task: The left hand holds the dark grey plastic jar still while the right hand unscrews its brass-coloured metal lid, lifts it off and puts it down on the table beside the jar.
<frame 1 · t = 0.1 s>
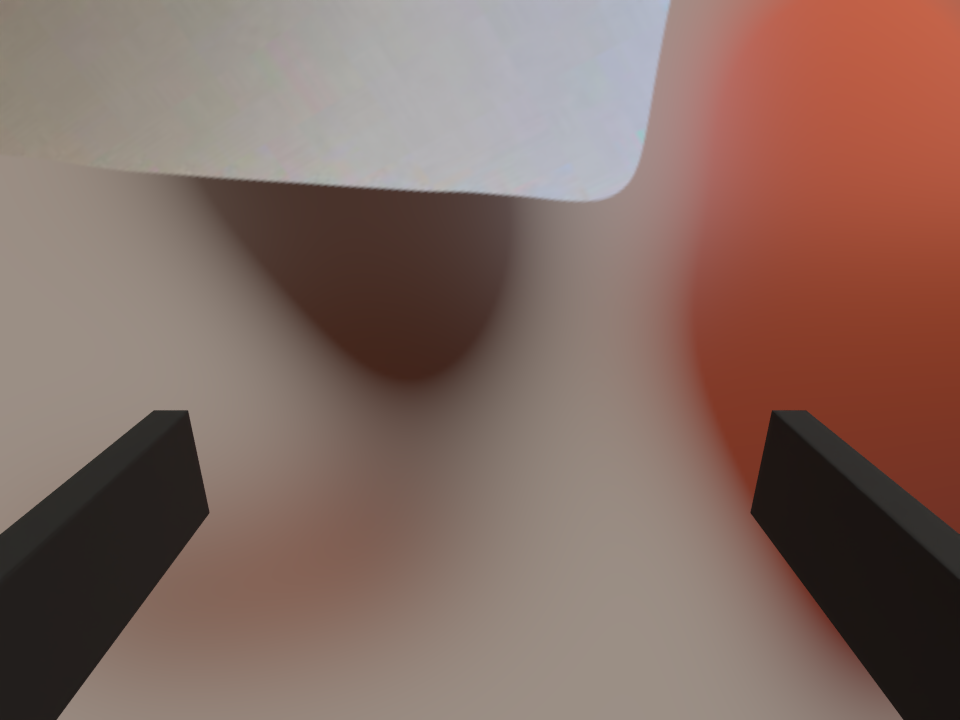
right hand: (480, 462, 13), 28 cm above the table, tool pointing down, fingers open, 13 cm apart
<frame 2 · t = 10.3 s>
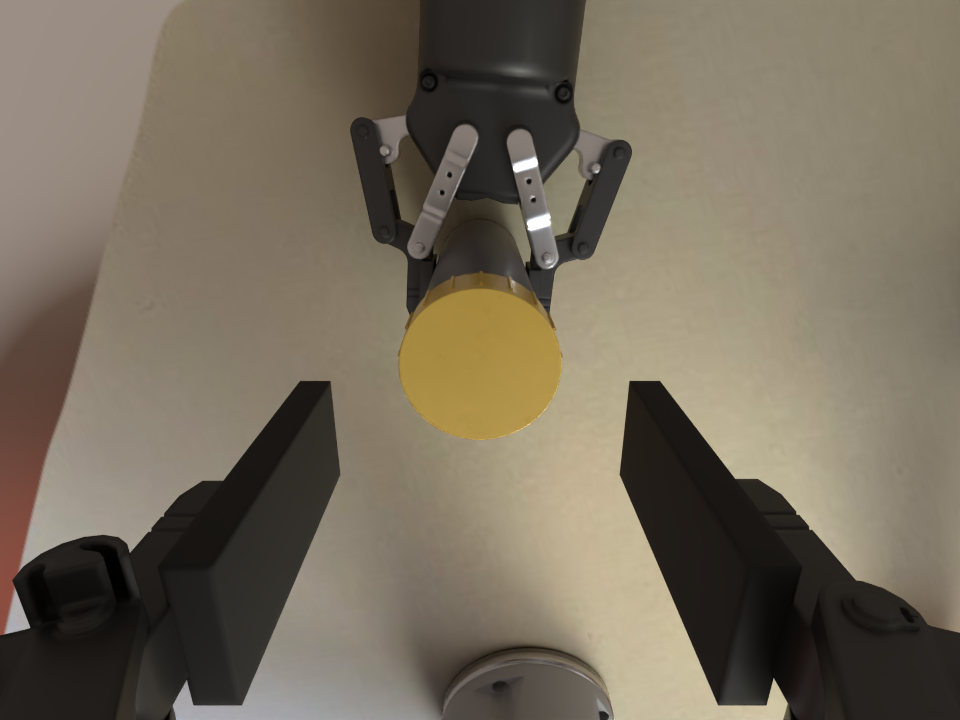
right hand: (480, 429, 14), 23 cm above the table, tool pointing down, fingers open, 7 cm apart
left hand: (477, 325, 31), fingers closed on jar, 5 cm apart
lid: (480, 364, 18), point 19 cm above the table, screwed on, not yet turned
jar: (480, 258, 36), on the table, touching left hand
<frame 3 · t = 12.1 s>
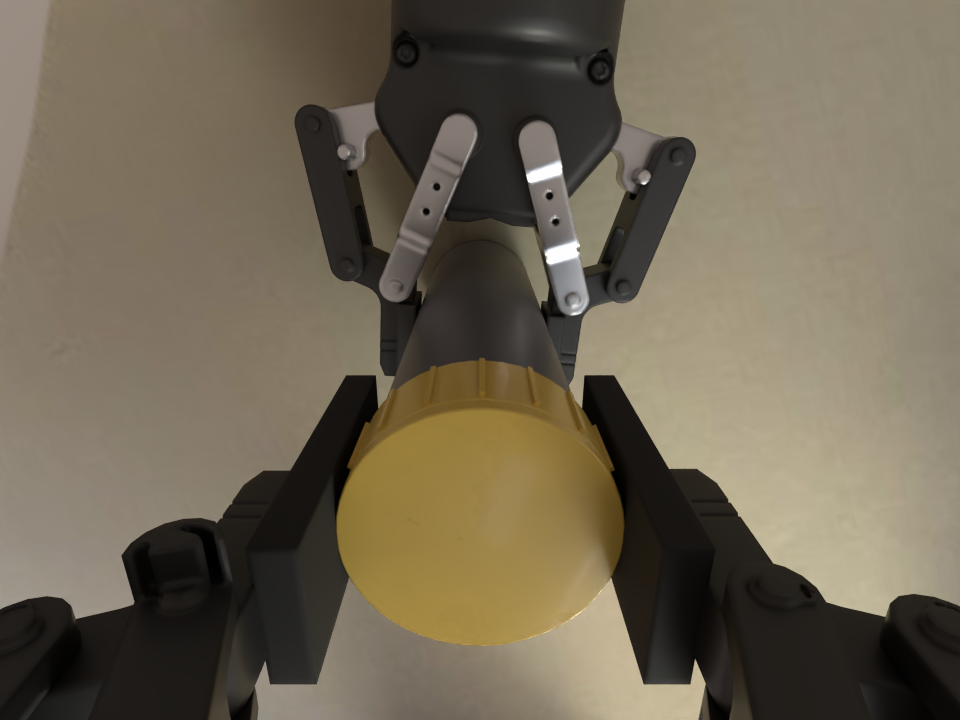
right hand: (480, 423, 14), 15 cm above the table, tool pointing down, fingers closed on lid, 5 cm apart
left hand: (475, 387, 23), fingers closed on jar, 5 cm apart
lid: (480, 526, 11), point 19 cm above the table, screwed on, not yet turned, touching right hand
jar: (480, 289, 28), on the table, touching left hand
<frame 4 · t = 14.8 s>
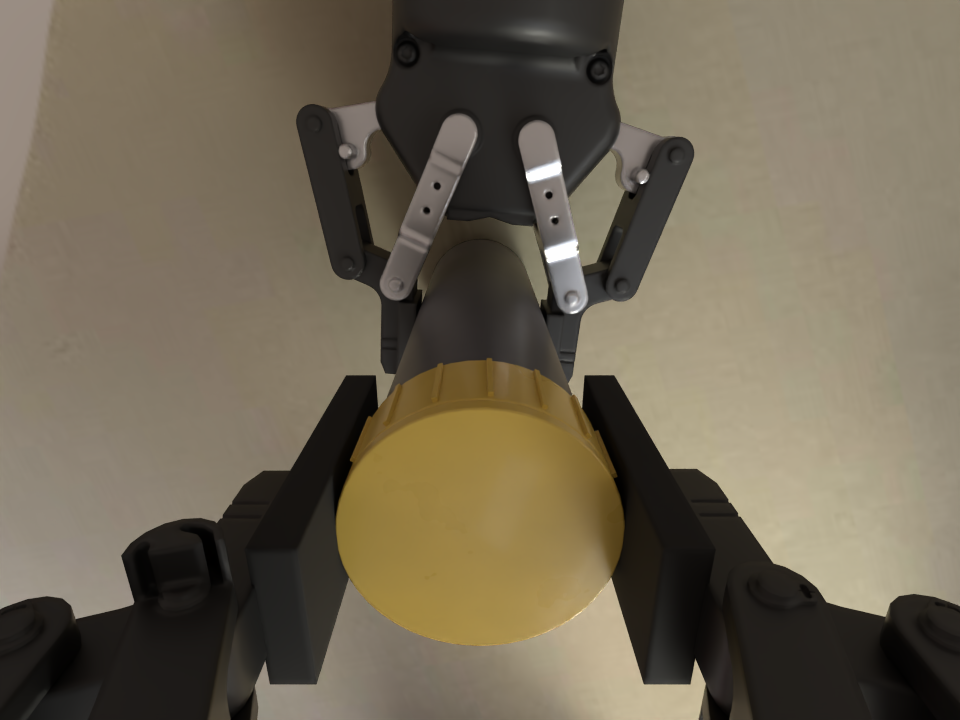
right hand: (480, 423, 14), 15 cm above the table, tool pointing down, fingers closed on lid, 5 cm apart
left hand: (475, 384, 23), fingers closed on jar, 5 cm apart
lid: (479, 526, 11), point 19 cm above the table, turned 60° so far, risen 0.2 cm, still on its thread, touching right hand
jar: (480, 288, 28), on the table, touching left hand
when the right hand's fingers open (0 cm above the table, at t = 21.2 s): lid drops 1 cm, point 2 cm above the table.
when the left hand's fingers open (6 cm above the table, at t = 22.2 s): jar stays where it is, on the table.
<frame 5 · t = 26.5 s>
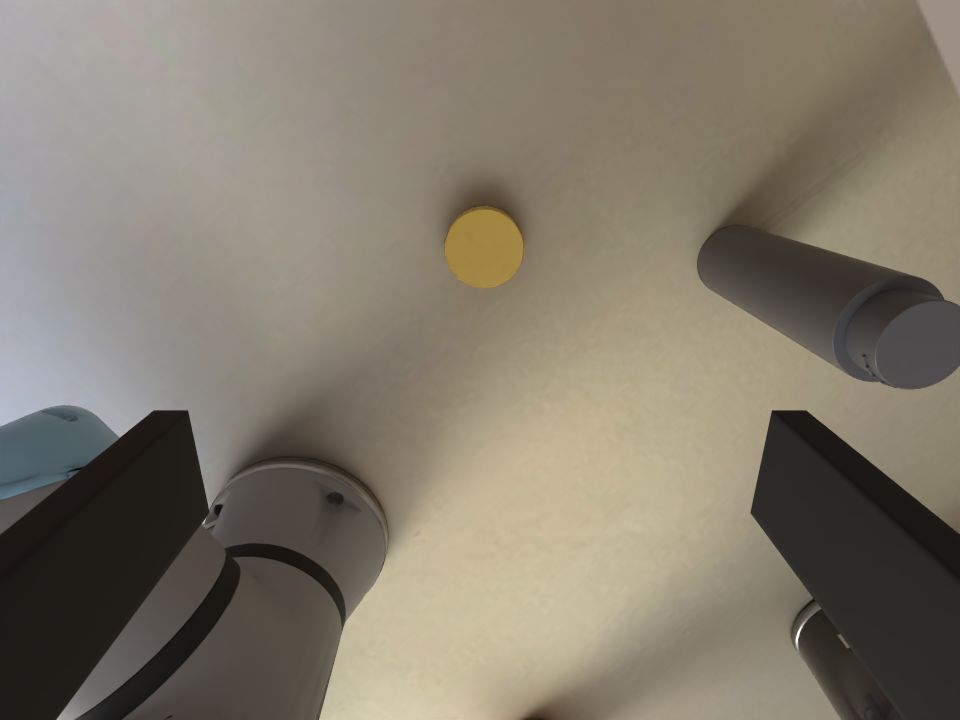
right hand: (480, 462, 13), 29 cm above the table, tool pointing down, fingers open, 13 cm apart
lid: (484, 249, 38), point 2 cm above the table, off its thread
jar: (731, 260, 40), on the table
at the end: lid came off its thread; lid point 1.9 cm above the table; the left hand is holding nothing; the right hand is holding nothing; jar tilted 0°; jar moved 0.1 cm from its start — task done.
